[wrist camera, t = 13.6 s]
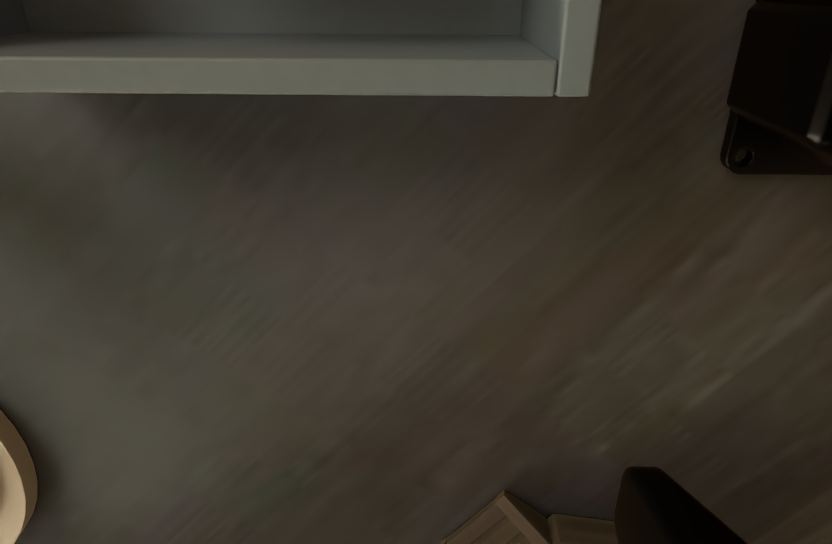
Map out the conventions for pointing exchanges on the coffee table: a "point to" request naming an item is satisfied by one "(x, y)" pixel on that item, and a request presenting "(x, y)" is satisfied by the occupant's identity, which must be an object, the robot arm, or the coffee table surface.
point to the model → (529, 526)
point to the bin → (300, 47)
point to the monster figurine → (15, 483)
